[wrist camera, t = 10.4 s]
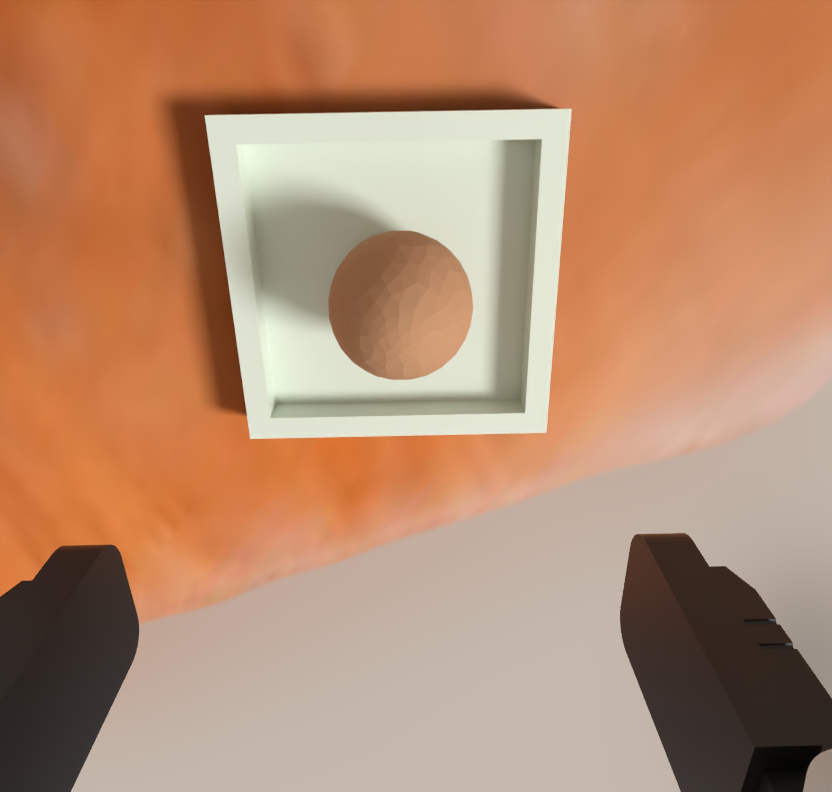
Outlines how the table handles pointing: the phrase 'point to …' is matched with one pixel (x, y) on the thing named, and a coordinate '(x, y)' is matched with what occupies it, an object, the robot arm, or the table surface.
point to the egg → (400, 305)
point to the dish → (377, 213)
